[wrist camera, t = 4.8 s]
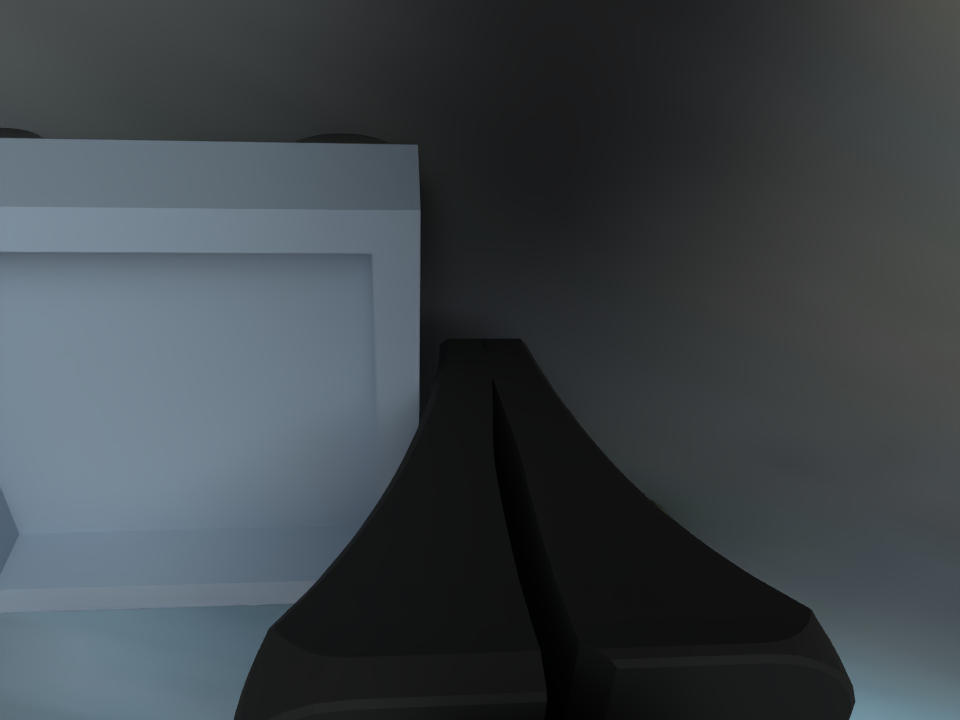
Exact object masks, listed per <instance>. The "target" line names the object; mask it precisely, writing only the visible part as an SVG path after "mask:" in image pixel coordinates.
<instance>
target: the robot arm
mask: <svg viewBox="0 0 960 720" xmlns="http://www.w3.org/2000/svg"><path fill="white" fill-rule="evenodd" d="M854 704H855V697H854V690H853V685H852V683H851V681H850V679H849V677H848V675H847V672H846V670H845V668H844V666H843V664H842V662H841V660H840V658H839V656H838V654H837V652H836V650H835V648H834V646H833V645H832V643H831V641H830V639H829V638H828V636H827V634H826V633H825V631H824V630H823V628H822V626H821V625H820V623H819V622H818V620H817V618H816V617H815V615H814V613H813V611H812V610H811V609H810V608H808V607H806V606H804V605H803V604H801V603H799V602H797V601H796V600H794V599H792V598H790V597H789V596H787V595H785V594H783V593H782V592H780V591H778V590H776V589H775V588H773V587H771V586H769V585H767V584H766V583H764V582H762V581H760V580H759V579H757V578H755V577H753V576H752V575H750V574H749V573H747V572H745V571H744V570H742V569H741V568H739V567H738V566H736V565H735V564H733V563H732V562H730V561H729V560H727V559H726V558H724V557H723V556H721V555H720V554H718V553H717V552H715V551H714V550H713V549H711V548H710V547H708V546H707V545H706V544H704V543H703V542H701V541H700V540H699V539H697V538H696V537H695V536H694V535H692V534H691V533H690V532H688V531H687V530H686V529H685V528H683V527H682V526H681V525H680V524H678V523H677V522H676V521H674V520H673V519H672V518H671V517H669V516H668V515H667V514H666V513H664V512H663V511H662V510H661V509H660V508H658V507H657V506H656V505H655V504H654V503H653V502H652V501H650V500H649V499H648V498H647V497H646V496H645V495H644V494H643V493H642V492H641V491H640V490H639V489H638V488H637V487H636V486H635V485H634V484H633V483H631V482H630V481H629V480H628V479H627V478H626V477H625V476H624V475H623V473H622V472H621V471H620V470H619V469H618V468H617V467H616V466H615V465H614V464H613V463H612V462H611V461H610V460H609V459H608V457H607V456H606V455H605V454H604V453H603V452H602V451H601V449H600V448H599V447H598V446H597V445H596V444H595V443H594V441H593V440H592V439H591V438H590V437H589V435H588V434H587V433H586V432H585V431H584V429H583V428H582V427H581V426H580V424H579V423H578V422H577V420H576V419H575V418H574V416H573V415H572V414H571V412H570V411H569V410H568V408H567V407H566V406H565V405H564V403H563V402H562V401H561V399H560V398H559V396H558V395H557V393H556V392H555V391H554V389H553V388H552V386H551V385H550V383H549V382H548V380H547V379H546V377H545V376H544V374H543V373H542V371H541V370H540V368H539V366H538V365H537V363H536V362H535V360H534V358H533V356H532V355H531V353H530V351H529V350H528V348H527V346H526V344H525V343H524V342H523V341H522V340H521V339H446V340H445V341H444V342H443V343H441V344H440V350H439V365H438V370H437V374H436V378H435V382H434V385H433V389H432V392H431V395H430V397H429V400H428V403H427V406H426V408H425V411H424V414H423V416H422V419H421V422H420V424H419V426H418V429H417V431H416V433H415V435H414V437H413V439H412V441H411V443H410V446H409V448H408V450H407V452H406V454H405V456H404V458H403V460H402V462H401V464H400V466H399V467H398V469H397V471H396V473H395V475H394V477H393V478H392V480H391V482H390V483H389V485H388V487H387V488H386V490H385V492H384V493H383V495H382V497H381V498H380V500H379V501H378V503H377V504H376V506H375V507H374V509H373V510H372V512H371V513H370V514H369V516H368V517H367V519H366V520H365V522H364V523H363V525H362V526H361V528H360V529H359V530H358V532H357V533H356V534H355V536H354V537H353V538H352V540H351V541H350V542H349V543H348V545H347V546H346V547H345V548H344V550H343V551H342V552H341V553H340V554H339V555H338V557H337V558H336V559H335V560H334V561H333V563H332V564H331V565H330V566H329V567H328V568H327V570H326V571H325V572H324V573H323V574H322V576H321V577H320V578H319V579H318V580H317V581H316V582H315V583H314V585H313V586H312V587H311V588H310V589H309V590H308V591H307V592H306V593H305V594H304V595H303V596H302V597H301V598H300V599H299V600H298V601H297V602H296V603H295V604H294V605H293V606H292V607H291V608H290V609H289V610H288V611H287V612H286V613H285V614H284V615H283V616H281V617H280V618H279V619H278V620H277V621H276V622H275V623H274V624H273V625H272V626H271V627H270V628H269V630H268V632H267V634H266V636H265V638H264V640H263V643H262V645H261V647H260V649H259V651H258V653H257V655H256V658H255V660H254V662H253V665H252V667H251V669H250V672H249V674H248V677H247V679H246V682H245V685H244V687H243V690H242V693H241V696H240V700H239V703H238V706H237V709H236V713H235V717H234V720H849V719H850V716H851V713H852V710H853V707H854Z"/></svg>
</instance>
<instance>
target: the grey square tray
mask: <svg viewBox="0 0 960 720" xmlns="http://www.w3.org/2000/svg"><path fill="white" fill-rule="evenodd" d="M420 216H421V210H420V185H419V160H418V145H401V144H389V143H387V142H385V141H382V140H379V139H376V138H373V137H368V136H363V135H355V134H326V135H318V136H313V137H309V138H305V139H302V140H299V141H296V142H294V143H277V142H215V141H152V140H90V139H42V138H41V137H40V136H38V135H37V134H34V133H32V132H29V131H25V130H19V129H11V128H0V613H16V612H48V611H81V610H113V609H146V608H178V607H210V606H243V605H275V604H295V603H296V602H297V601H298V600H299V599H300V598H301V597H302V596H303V595H304V594H305V593H306V592H307V591H308V590H309V589H310V588H311V587H312V586H313V585H314V583H315V582H316V581H317V580H318V579H319V578H320V577H321V576H322V574H323V573H324V572H325V571H326V570H327V568H328V567H329V566H330V565H331V564H332V563H333V561H334V560H335V559H336V558H337V557H338V555H339V554H340V553H341V552H342V551H343V550H344V548H345V547H346V546H347V545H348V543H349V542H350V541H351V540H352V538H353V537H354V536H355V534H356V533H357V532H358V530H359V529H360V528H361V526H362V525H363V523H364V522H365V520H366V519H367V517H368V516H369V514H370V513H371V512H372V510H373V509H374V507H375V506H376V504H377V503H378V501H379V500H380V498H381V497H382V495H383V493H384V492H385V490H386V488H387V487H388V485H389V483H390V482H391V480H392V478H393V477H394V475H395V473H396V471H397V469H398V467H399V466H400V464H401V462H402V460H403V458H404V456H405V454H406V452H407V450H408V448H409V446H410V443H411V441H412V439H413V437H414V435H415V433H416V431H417V429H418V426H419V361H420Z"/></svg>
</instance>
